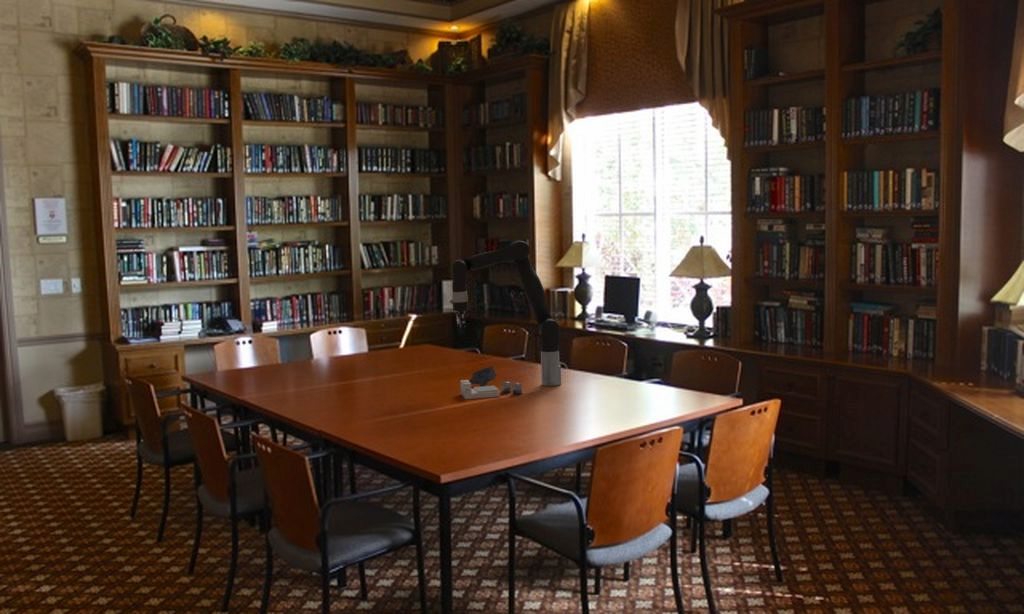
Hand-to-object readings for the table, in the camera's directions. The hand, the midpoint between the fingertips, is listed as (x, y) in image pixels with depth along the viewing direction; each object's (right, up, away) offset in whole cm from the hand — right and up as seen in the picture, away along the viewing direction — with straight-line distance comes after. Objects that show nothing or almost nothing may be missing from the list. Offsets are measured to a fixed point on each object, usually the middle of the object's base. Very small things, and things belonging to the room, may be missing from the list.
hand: (461, 333), depth 443 cm
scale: (+9, -29, -9) cm, 32 cm away
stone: (+10, -27, +15) cm, 33 cm away
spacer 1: (+22, -29, -3) cm, 36 cm away
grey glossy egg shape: (+27, -29, -9) cm, 41 cm away
